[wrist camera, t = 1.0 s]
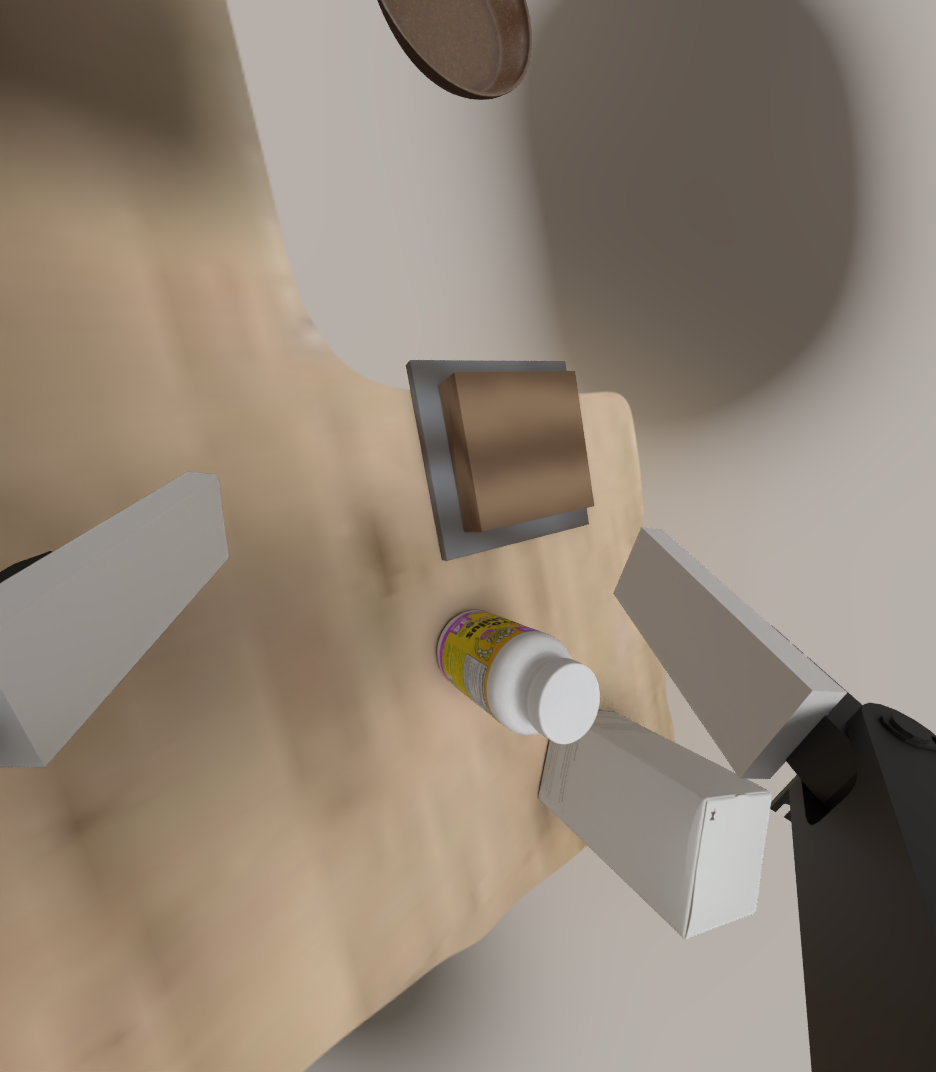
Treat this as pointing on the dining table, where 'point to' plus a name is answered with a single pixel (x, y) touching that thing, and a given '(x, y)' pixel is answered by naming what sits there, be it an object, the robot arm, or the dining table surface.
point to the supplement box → (662, 820)
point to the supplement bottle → (519, 676)
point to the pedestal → (500, 451)
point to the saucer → (465, 42)
